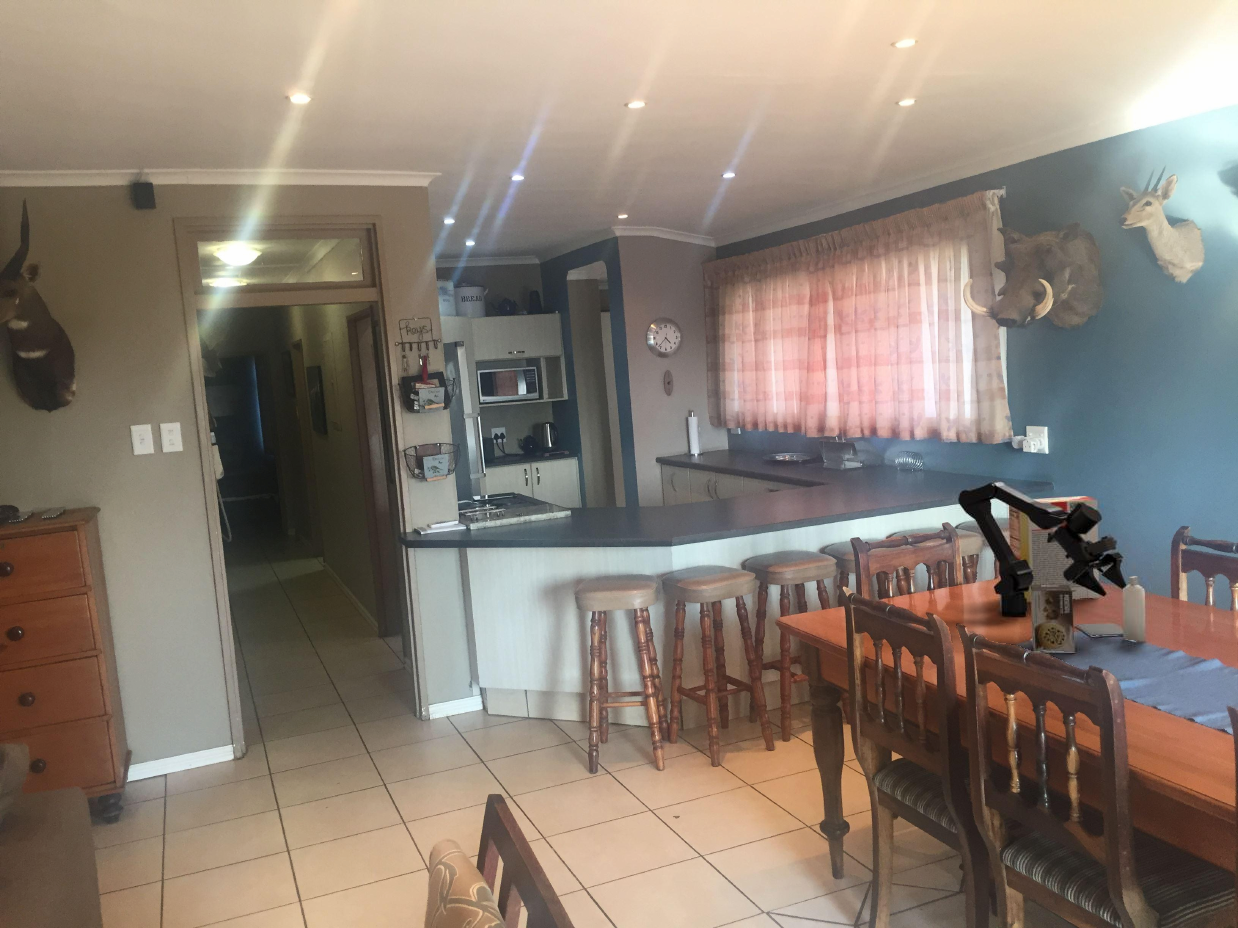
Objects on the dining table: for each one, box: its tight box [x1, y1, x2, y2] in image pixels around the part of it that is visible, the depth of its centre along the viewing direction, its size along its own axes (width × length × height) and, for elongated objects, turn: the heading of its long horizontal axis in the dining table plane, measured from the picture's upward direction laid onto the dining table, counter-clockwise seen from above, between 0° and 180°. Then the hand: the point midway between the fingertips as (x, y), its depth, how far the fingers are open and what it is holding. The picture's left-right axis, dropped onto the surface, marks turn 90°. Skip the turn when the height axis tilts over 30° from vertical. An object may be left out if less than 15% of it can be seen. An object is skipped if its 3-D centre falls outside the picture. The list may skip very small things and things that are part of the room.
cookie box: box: [1030, 585, 1076, 654], centre depth 224 cm, size 9×6×16 cm
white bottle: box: [1122, 575, 1146, 643], centre depth 228 cm, size 5×5×16 cm
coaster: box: [1074, 622, 1124, 637], centre depth 237 cm, size 10×10×1 cm
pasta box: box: [1008, 495, 1100, 603], centre depth 273 cm, size 23×8×30 cm, turn 88°
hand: (1115, 592), depth 232 cm, fingers open, 9 cm apart
